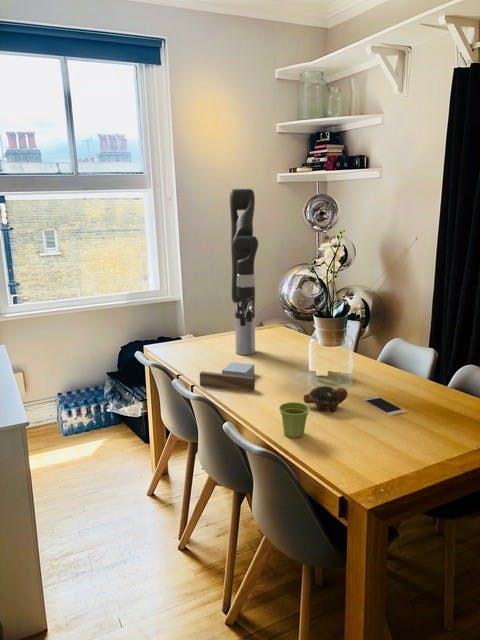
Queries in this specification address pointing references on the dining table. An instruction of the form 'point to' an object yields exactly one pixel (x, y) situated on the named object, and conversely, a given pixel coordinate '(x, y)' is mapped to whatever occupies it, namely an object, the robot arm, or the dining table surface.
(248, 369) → the block
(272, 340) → the dining table surface
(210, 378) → the board
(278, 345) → the dining table surface
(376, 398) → the smartphone
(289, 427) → the plant pot
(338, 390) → the decorative turtle
